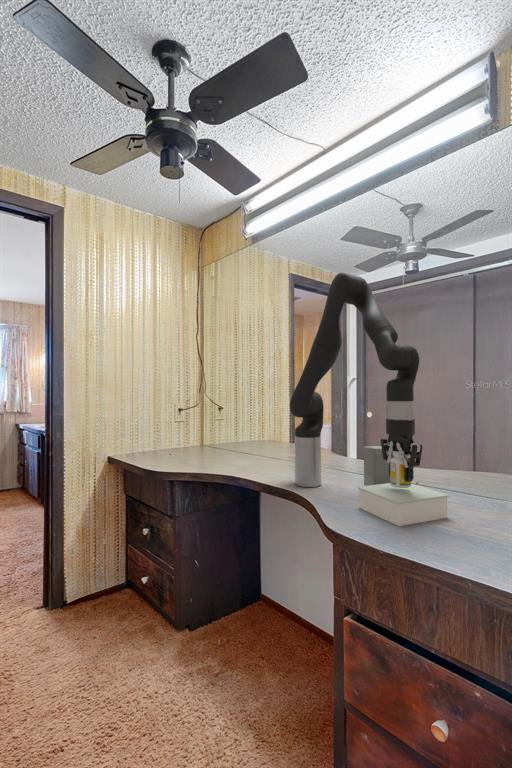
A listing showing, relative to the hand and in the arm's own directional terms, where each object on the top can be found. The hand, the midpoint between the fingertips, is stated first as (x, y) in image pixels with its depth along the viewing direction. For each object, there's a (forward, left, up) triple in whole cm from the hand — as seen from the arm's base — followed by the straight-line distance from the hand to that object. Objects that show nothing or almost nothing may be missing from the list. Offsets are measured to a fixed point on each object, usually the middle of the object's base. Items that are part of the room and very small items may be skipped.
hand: (400, 478), depth 108 cm
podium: (0, 0, -9) cm, 9 cm away
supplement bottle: (0, 0, -2) cm, 2 cm away
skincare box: (-15, +5, -10) cm, 18 cm away
